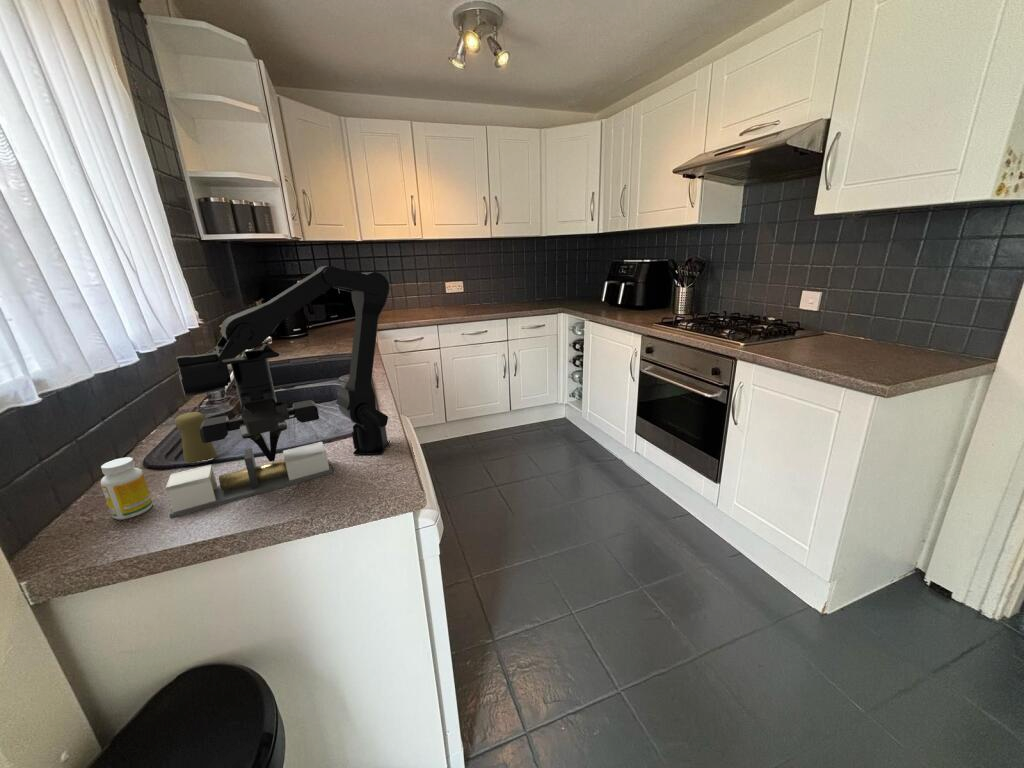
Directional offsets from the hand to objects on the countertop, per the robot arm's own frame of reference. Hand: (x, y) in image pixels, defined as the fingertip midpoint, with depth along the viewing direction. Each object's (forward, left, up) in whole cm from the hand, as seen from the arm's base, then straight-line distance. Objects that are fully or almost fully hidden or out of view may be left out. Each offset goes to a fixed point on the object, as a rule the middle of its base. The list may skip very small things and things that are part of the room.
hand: (272, 460), depth 78 cm
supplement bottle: (+20, +10, -5) cm, 23 cm away
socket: (+10, +7, -4) cm, 13 cm away
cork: (+24, -10, -5) cm, 26 cm away
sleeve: (-5, -3, -4) cm, 7 cm away
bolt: (0, 0, -3) cm, 4 cm away
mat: (+3, +2, -4) cm, 5 cm away
